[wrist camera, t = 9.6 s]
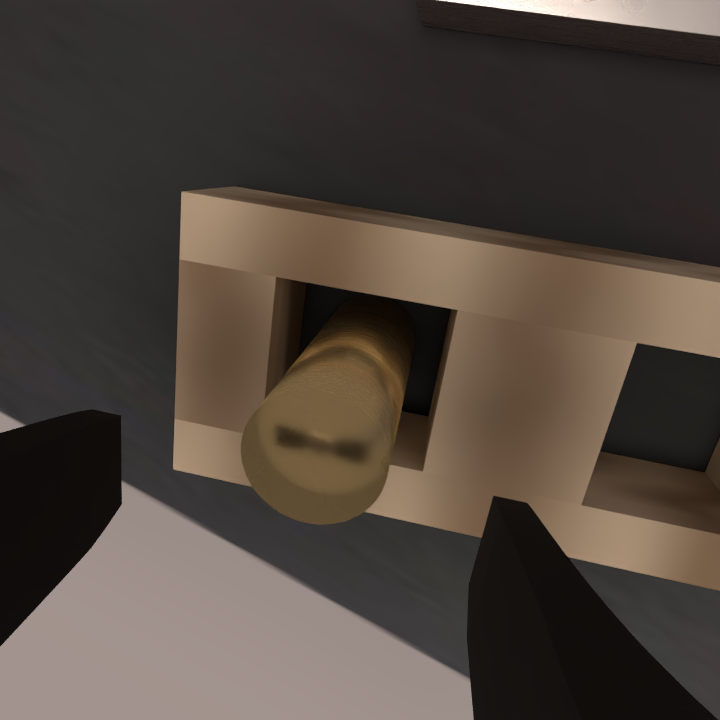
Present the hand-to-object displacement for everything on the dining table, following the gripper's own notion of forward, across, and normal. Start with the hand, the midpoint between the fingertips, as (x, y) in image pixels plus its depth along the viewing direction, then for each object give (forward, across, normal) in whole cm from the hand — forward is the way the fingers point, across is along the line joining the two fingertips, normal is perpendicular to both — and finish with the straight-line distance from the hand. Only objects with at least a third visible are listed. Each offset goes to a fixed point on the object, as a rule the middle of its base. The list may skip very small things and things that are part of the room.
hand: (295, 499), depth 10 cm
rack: (+10, -5, 0) cm, 12 cm away
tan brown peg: (+10, 0, 0) cm, 10 cm away
